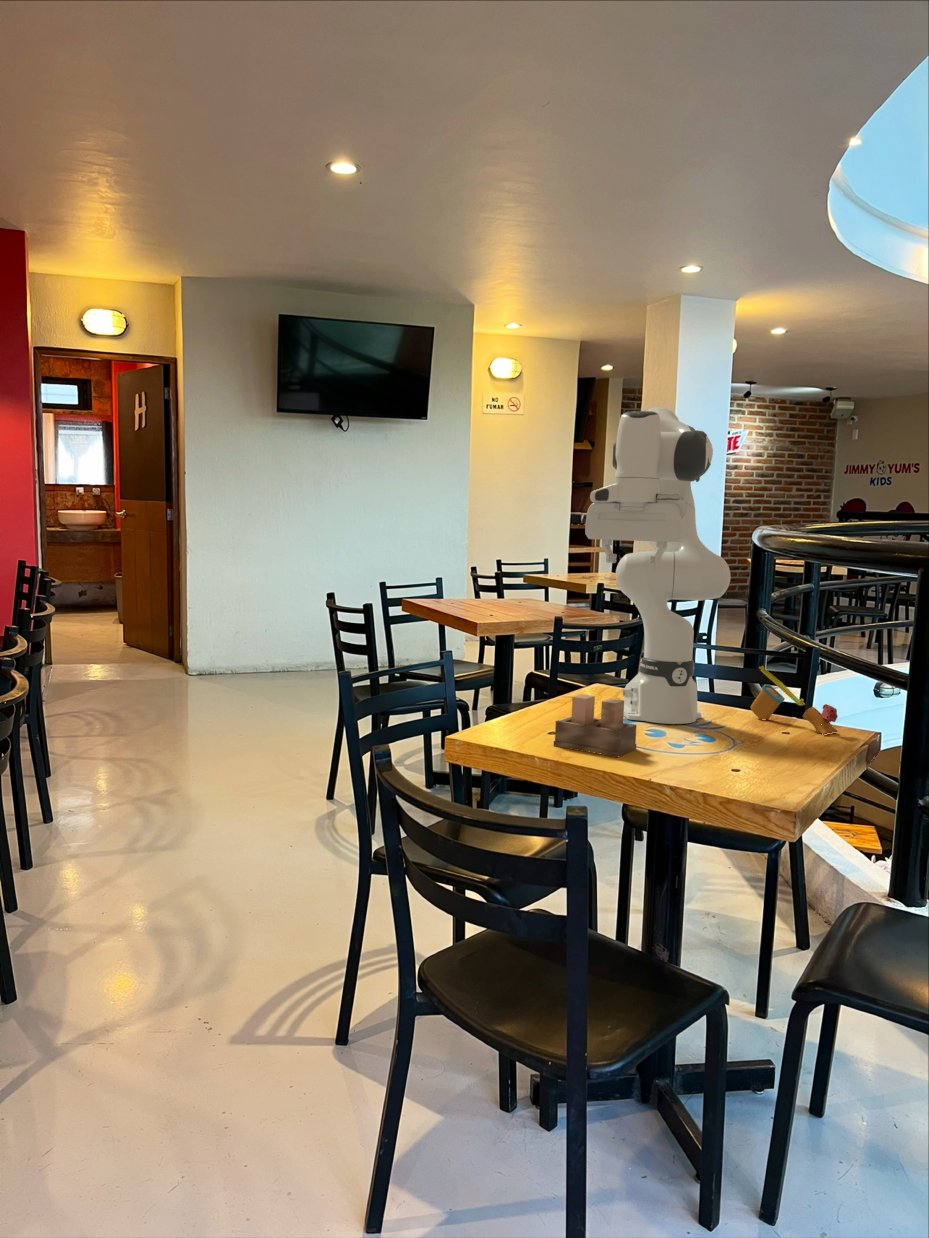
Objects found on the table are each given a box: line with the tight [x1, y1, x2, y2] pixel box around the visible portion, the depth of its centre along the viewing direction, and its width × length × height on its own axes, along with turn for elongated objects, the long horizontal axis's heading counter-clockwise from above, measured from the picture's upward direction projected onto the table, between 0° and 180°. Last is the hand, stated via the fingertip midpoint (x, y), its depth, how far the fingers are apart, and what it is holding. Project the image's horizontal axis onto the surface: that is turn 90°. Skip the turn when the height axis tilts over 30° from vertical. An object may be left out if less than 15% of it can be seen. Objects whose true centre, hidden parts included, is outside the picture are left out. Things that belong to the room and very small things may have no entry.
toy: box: [750, 665, 838, 735], centre depth 209 cm, size 5×22×15 cm
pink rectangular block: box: [571, 693, 596, 725], centre depth 184 cm, size 3×4×9 cm
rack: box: [553, 698, 637, 758], centre depth 183 cm, size 14×9×10 cm, turn 56°
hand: (632, 564), depth 180 cm, fingers open, 8 cm apart
